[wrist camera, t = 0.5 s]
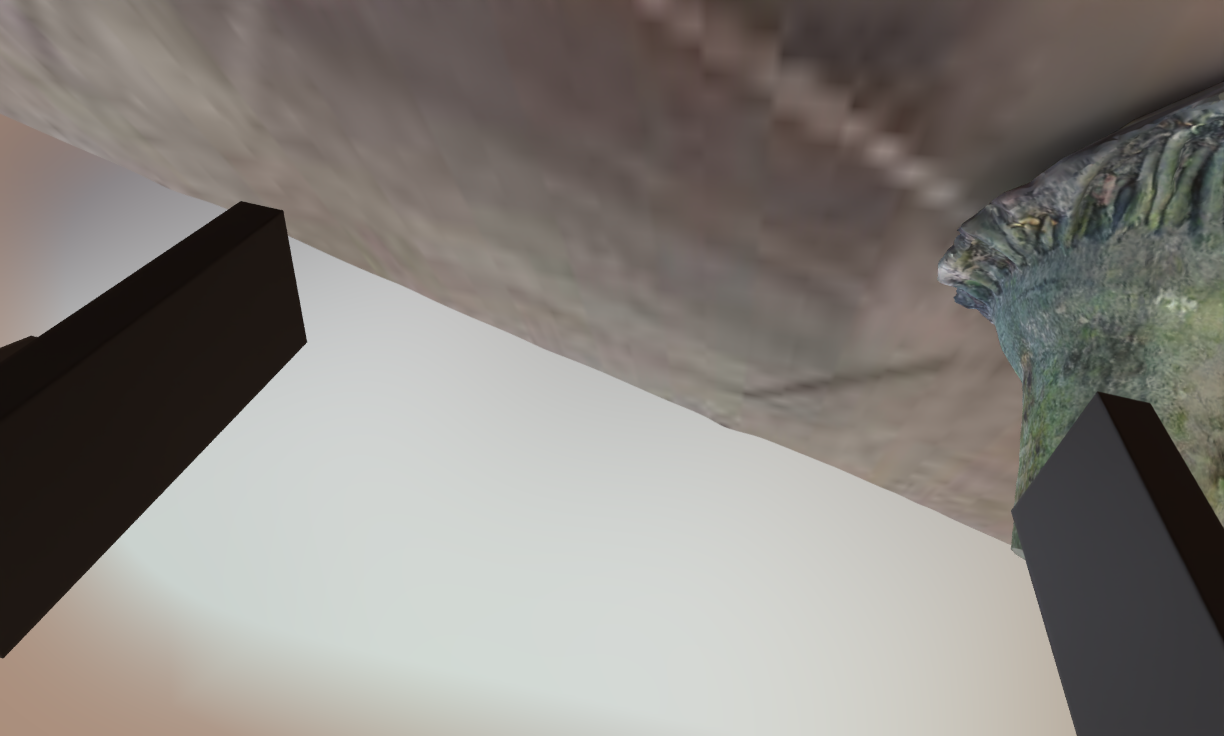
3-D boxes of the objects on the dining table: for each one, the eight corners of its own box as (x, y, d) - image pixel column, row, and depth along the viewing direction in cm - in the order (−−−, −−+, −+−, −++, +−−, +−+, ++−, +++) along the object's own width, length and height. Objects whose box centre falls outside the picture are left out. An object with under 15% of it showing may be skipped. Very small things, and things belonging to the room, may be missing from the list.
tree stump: (1648, 299, 26) (1490, 770, 25) (1044, 234, 40) (922, 533, 39) (2077, -110, 13) (1789, 847, 12) (954, 5, 27) (766, 446, 25)
